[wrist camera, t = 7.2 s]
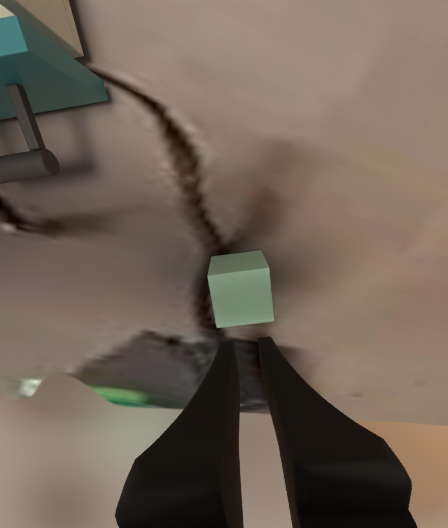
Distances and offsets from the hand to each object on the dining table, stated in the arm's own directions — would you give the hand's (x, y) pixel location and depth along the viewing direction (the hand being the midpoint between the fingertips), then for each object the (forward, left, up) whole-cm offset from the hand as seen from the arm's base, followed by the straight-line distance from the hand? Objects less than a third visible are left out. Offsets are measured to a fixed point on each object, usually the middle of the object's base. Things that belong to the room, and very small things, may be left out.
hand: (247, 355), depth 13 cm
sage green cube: (0, 0, -10) cm, 10 cm away
